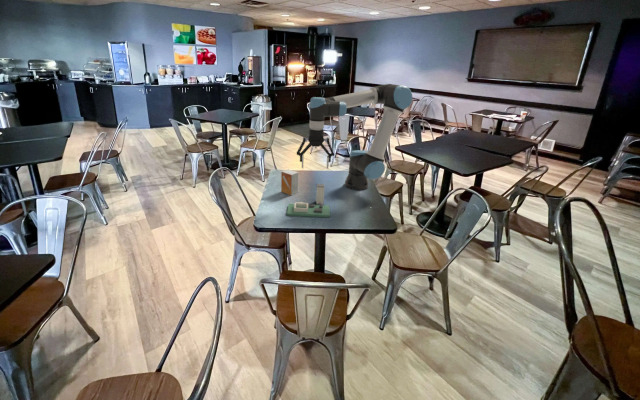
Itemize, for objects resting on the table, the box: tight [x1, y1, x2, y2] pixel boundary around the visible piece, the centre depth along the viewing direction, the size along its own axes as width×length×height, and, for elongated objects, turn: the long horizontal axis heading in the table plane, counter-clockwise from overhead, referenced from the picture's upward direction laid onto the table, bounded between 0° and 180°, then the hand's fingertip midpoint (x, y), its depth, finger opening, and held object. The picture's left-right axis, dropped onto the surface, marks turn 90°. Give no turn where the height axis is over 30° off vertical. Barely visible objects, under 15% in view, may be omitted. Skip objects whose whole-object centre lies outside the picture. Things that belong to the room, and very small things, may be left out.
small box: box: [280, 168, 299, 196], centre depth 189 cm, size 8×6×13 cm
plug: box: [315, 183, 325, 205], centre depth 178 cm, size 4×4×10 cm
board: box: [286, 201, 331, 218], centre depth 168 cm, size 22×12×4 cm, turn 91°
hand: (315, 167), depth 174 cm, fingers open, 13 cm apart
